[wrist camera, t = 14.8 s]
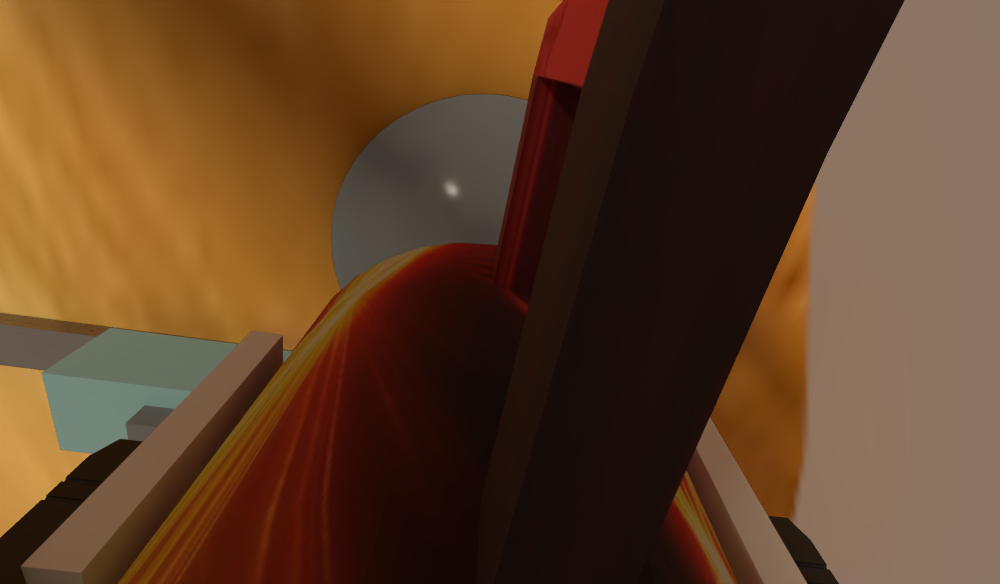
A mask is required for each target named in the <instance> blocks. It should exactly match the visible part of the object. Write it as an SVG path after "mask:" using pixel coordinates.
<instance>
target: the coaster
mask: <svg viewBox="0 0 1000 584" xmlns="http://www.w3.org/2000/svg"><path fill="white" fill-rule="evenodd" d="M527 103H528V100H525V99H521V98H517V97H512V96H508V95H497V94H467V95H460V96H455V97H450V98H445V99H441V100H438V101H435V102H432V103H429V104H426V105H424V106H421V107H419V108H417V109H415V110H413V111H411V112H409V113H407V114H405V115H404V116H402V117H400V118H398V119H397V120H396V121H394V122H393V123H391V124H390V125H389V126H387V127H386V128H384V129H383V130H382V131H381V132H380V133H379V134H378V135H377V136H376V137H375V138H374V139H372V140H371V141H370V142H369V143H368V144H367V145H366V147H365V148H364V149H363V151H362V152H361V153H360V155H359V156H358V157H357V158H356V160H355V161H354V163H353V165H352V166H351V168H350V170H349V172H348V173H347V175H346V177H345V179H344V181H343V184H342V186H341V189H340V192H339V194H338V197H337V200H336V205H335V209H334V214H333V220H332V231H331V243H332V257H333V262H334V267H335V273H336V276H337V279H338V282H339V285H340V288H341V290H342V289H343V288H344V287H345V286H346V285H347V284H348V283H349V282H351V281H352V280H353V279H354V278H355V277H356V276H357V275H359V274H361V273H363V272H364V271H366V270H368V269H370V268H371V267H373V266H375V265H376V264H378V263H380V262H382V261H383V260H385V259H387V258H390V257H393V256H396V255H399V254H402V253H405V252H408V251H411V250H414V249H417V248H420V247H427V246H434V245H442V244H450V243H474V244H491V245H498V241H499V236H500V232H501V227H502V222H503V217H504V212H505V208H506V203H507V198H508V193H509V189H510V184H511V179H512V174H513V169H514V165H515V160H516V155H517V150H518V146H519V141H520V136H521V131H522V126H523V122H524V117H525V112H526V107H527Z"/></svg>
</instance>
